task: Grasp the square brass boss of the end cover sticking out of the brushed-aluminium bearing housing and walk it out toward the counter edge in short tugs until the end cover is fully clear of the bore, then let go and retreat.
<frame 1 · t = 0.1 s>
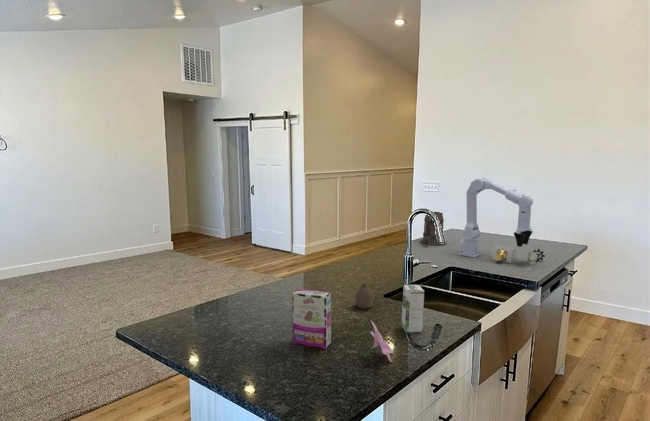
hand: (522, 245, 225), 10 cm above the worktop, tool pointing down, fingers open, 7 cm apart
housing: (503, 260, 234), on the worktop
tankard: (431, 244, 273), on the worktop
candy bar box: (312, 344, 133), on the worktop
lily: (380, 358, 124), on the worktop
syrup box: (411, 329, 144), on the worktop
vase: (363, 307, 164), on the worktop
end cover: (501, 255, 230), point 3 cm above the worktop, slide at 0.0 cm
valve: (534, 263, 229), on the worktop
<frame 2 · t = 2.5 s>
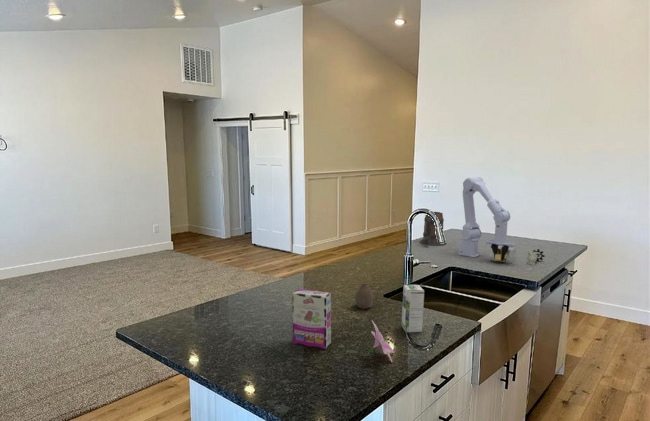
hand: (499, 258, 228), 2 cm above the worktop, tool pointing down, fingers closed on end cover, 3 cm apart
end cover: (501, 255, 230), point 3 cm above the worktop, slide at 0.0 cm, touching gripper
everything else where it was.
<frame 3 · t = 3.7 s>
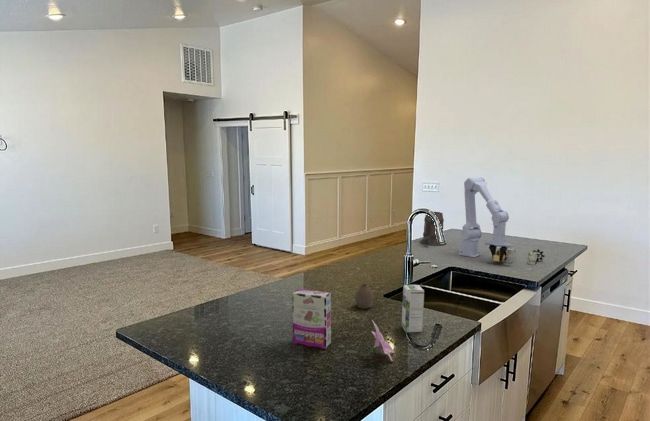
hand: (497, 259, 226), 2 cm above the worktop, tool pointing down, fingers closed on end cover, 3 cm apart
end cover: (500, 256, 228), point 3 cm above the worktop, slide at 2.6 cm, touching gripper
everything else where it was.
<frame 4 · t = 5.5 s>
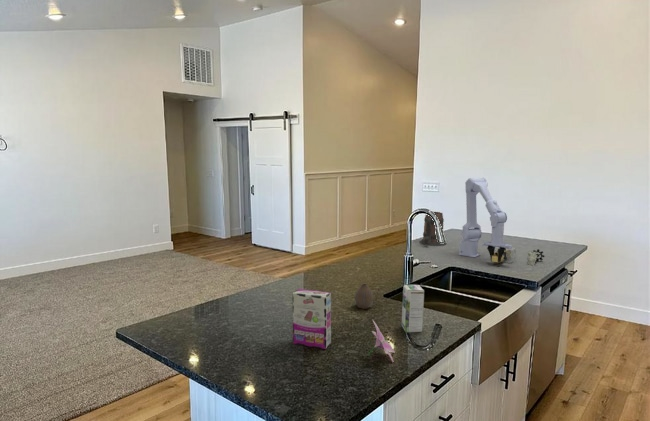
hand: (495, 260, 224), 2 cm above the worktop, tool pointing down, fingers closed on end cover, 3 cm apart
end cover: (498, 257, 227), point 3 cm above the worktop, slide at 5.0 cm, touching gripper
everything else where it was.
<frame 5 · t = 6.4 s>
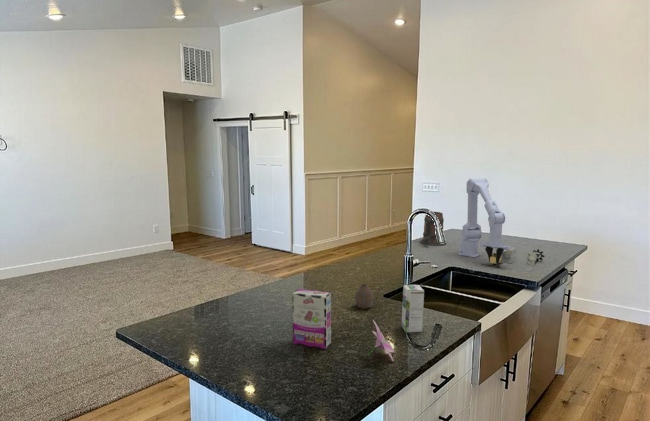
hand: (493, 261, 222), 2 cm above the worktop, tool pointing down, fingers closed on end cover, 3 cm apart
end cover: (496, 257, 225), point 3 cm above the worktop, slide at 7.7 cm, touching gripper
everything else where it was.
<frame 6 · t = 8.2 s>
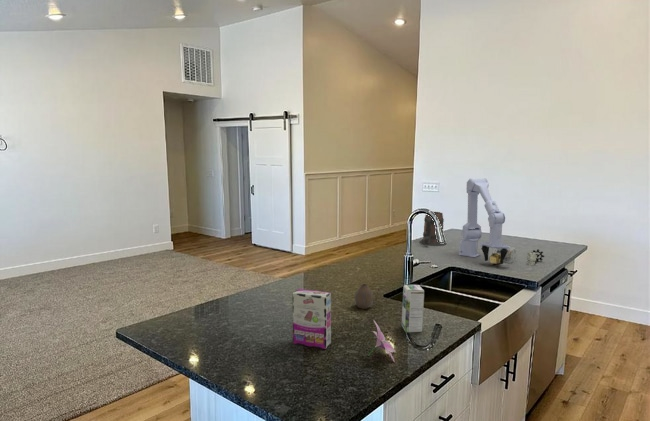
hand: (493, 261, 222), 2 cm above the worktop, tool pointing down, fingers open, 7 cm apart
end cover: (496, 257, 225), point 3 cm above the worktop, slide at 7.7 cm
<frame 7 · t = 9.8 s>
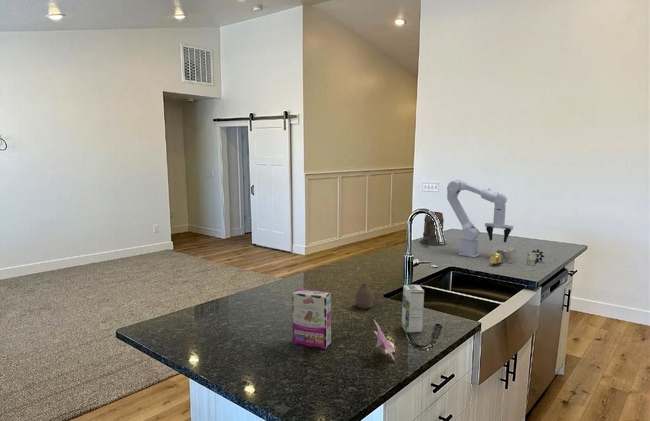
hand: (497, 241, 235), 10 cm above the worktop, tool pointing down, fingers open, 7 cm apart
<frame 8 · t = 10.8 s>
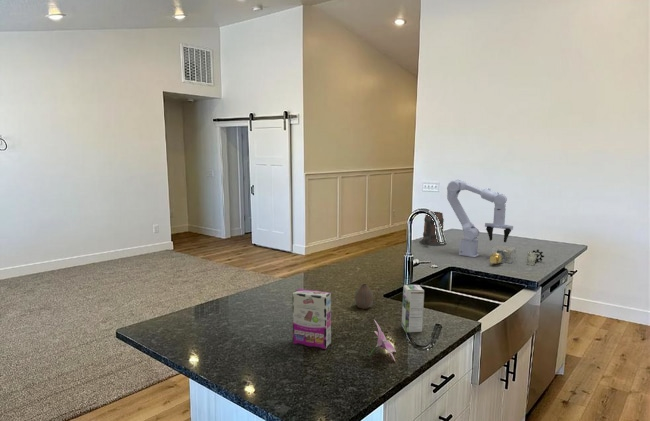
hand: (497, 241, 235), 10 cm above the worktop, tool pointing down, fingers open, 7 cm apart
at the end: end cover slide at 7.7 cm; the gripper is holding nothing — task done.
